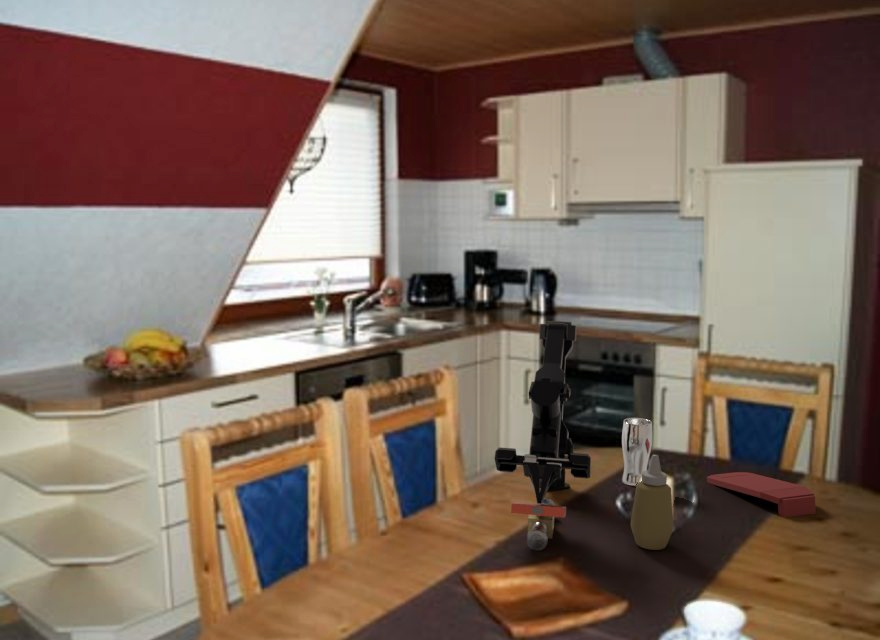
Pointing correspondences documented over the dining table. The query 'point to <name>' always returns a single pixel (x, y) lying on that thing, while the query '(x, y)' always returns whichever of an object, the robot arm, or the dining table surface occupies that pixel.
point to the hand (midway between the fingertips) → (539, 502)
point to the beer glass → (635, 448)
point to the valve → (540, 529)
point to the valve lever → (538, 509)
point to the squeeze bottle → (652, 509)
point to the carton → (769, 491)
